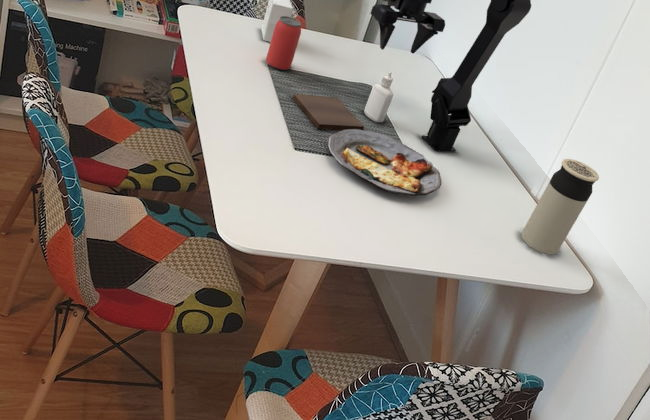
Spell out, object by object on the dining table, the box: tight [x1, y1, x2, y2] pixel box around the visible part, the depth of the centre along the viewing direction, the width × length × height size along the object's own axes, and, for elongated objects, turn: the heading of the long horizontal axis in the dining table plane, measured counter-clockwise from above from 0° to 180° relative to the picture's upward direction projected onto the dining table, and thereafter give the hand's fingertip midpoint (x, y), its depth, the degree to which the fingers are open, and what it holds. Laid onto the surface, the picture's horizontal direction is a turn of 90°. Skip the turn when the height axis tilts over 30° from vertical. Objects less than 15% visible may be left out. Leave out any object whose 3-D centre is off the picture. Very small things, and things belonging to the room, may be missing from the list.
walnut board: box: [292, 93, 365, 131], centre depth 171 cm, size 14×12×1 cm
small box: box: [260, 0, 294, 43], centre depth 200 cm, size 8×6×10 cm
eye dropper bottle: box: [363, 71, 394, 123], centre depth 175 cm, size 4×6×12 cm
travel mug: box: [520, 158, 600, 255], centre depth 145 cm, size 8×8×18 cm
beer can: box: [265, 16, 302, 71], centre depth 184 cm, size 7×7×12 cm
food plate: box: [328, 129, 443, 197], centre depth 155 cm, size 25×23×4 cm
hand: (397, 50), depth 181 cm, fingers open, 9 cm apart
